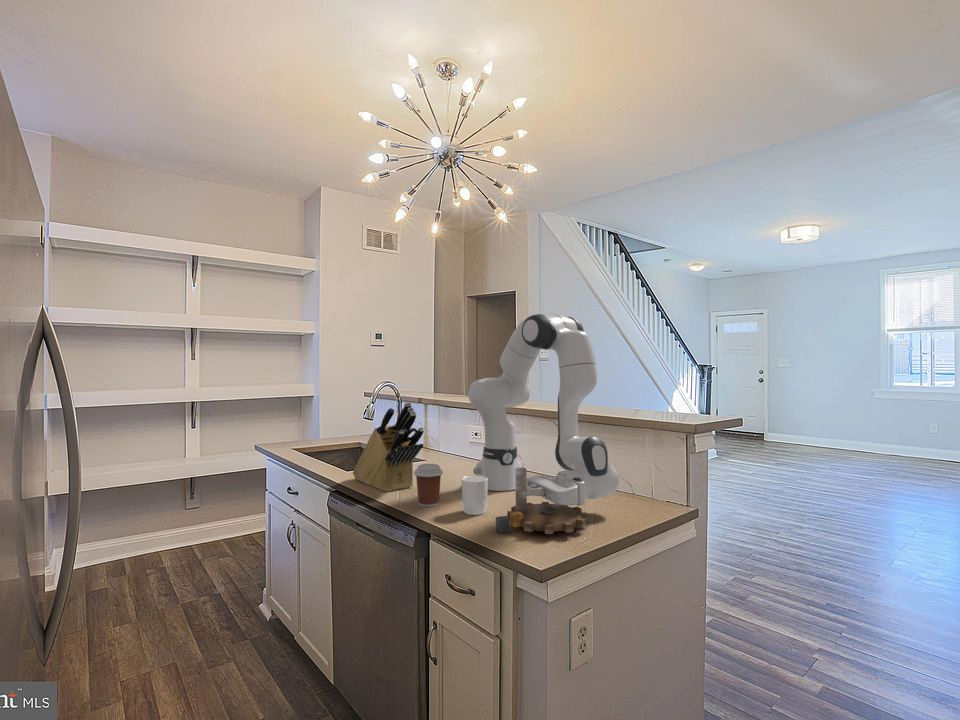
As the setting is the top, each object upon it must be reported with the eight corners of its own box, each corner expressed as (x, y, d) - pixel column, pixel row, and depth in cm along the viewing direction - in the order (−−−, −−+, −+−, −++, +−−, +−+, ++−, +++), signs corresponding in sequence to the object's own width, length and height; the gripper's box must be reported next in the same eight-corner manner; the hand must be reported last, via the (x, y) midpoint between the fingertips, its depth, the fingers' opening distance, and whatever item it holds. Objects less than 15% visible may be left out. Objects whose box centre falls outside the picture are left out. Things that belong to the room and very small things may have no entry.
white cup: (458, 509, 154) (458, 476, 154) (482, 506, 157) (482, 474, 157) (466, 517, 147) (466, 482, 147) (492, 514, 149) (491, 480, 149)
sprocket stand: (490, 528, 136) (490, 514, 136) (552, 519, 144) (551, 505, 144) (504, 538, 129) (503, 522, 129) (567, 528, 136) (567, 513, 136)
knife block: (398, 498, 167) (397, 404, 167) (352, 479, 194) (351, 398, 194) (427, 493, 174) (426, 402, 174) (378, 475, 201) (378, 397, 201)
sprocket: (506, 532, 129) (505, 477, 129) (508, 508, 150) (508, 460, 150) (592, 534, 127) (592, 478, 127) (582, 509, 148) (582, 461, 148)
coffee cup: (409, 502, 162) (408, 465, 162) (434, 498, 167) (433, 461, 167) (422, 509, 154) (422, 470, 154) (448, 504, 160) (448, 466, 160)
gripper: (548, 468, 155) (508, 472, 150) (587, 483, 136) (542, 489, 131) (549, 489, 155) (508, 494, 150) (588, 506, 136) (543, 513, 131)
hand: (524, 492), depth 140 cm, fingers closed
